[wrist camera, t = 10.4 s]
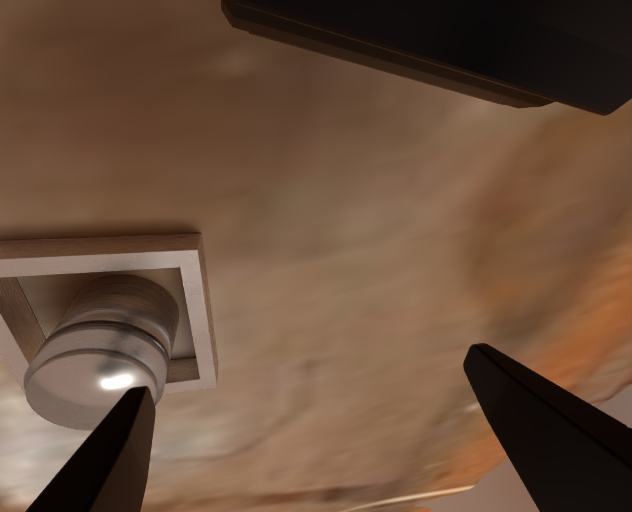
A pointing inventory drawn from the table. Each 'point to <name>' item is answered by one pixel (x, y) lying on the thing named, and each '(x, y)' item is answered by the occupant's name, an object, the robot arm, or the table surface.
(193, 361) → the grey square frame
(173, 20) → the table surface
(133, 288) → the piston
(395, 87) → the table surface
